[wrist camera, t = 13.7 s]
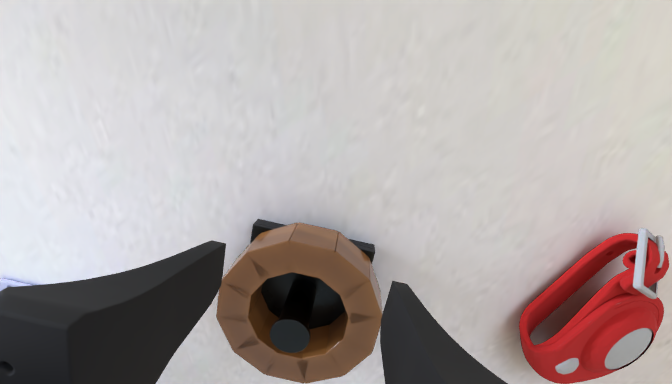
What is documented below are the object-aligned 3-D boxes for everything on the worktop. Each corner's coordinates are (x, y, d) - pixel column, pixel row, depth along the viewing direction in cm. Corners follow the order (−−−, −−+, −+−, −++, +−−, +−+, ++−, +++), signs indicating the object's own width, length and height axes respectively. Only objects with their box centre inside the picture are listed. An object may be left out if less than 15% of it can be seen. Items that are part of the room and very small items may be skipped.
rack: (244, 315, 27) (212, 375, 21) (258, 218, 24) (225, 257, 18) (349, 339, 27) (345, 406, 21) (374, 244, 24) (378, 291, 18)
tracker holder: (679, 358, 24) (561, 421, 23) (617, 314, 27) (516, 367, 27) (707, 234, 18) (553, 314, 17) (625, 201, 22) (497, 265, 21)
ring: (227, 333, 26) (210, 362, 23) (242, 209, 23) (225, 226, 20) (359, 363, 26) (359, 396, 23) (394, 243, 23) (399, 264, 20)
